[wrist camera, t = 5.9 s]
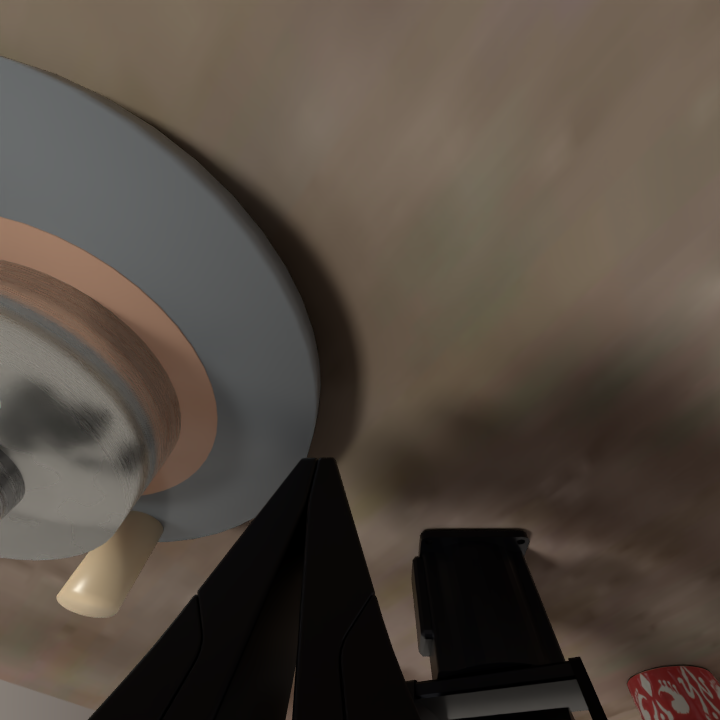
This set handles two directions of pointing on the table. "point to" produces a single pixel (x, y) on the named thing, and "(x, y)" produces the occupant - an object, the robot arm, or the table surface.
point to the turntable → (162, 308)
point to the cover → (73, 418)
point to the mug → (676, 694)
